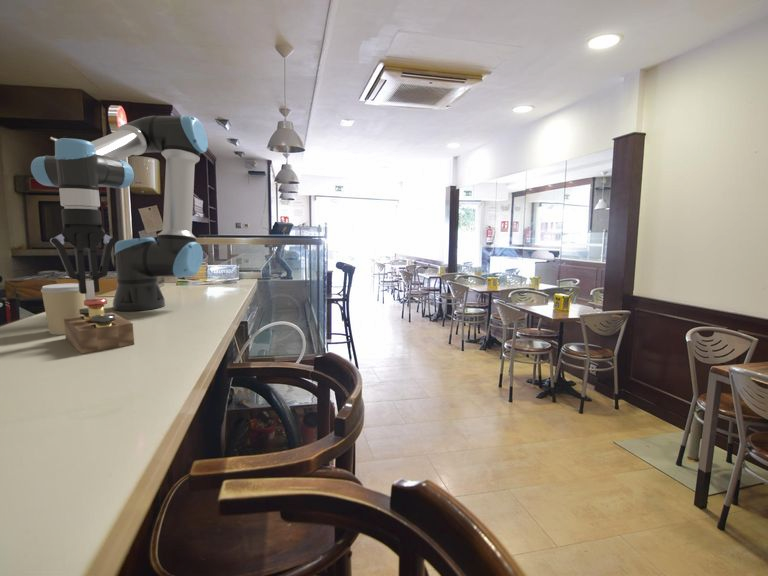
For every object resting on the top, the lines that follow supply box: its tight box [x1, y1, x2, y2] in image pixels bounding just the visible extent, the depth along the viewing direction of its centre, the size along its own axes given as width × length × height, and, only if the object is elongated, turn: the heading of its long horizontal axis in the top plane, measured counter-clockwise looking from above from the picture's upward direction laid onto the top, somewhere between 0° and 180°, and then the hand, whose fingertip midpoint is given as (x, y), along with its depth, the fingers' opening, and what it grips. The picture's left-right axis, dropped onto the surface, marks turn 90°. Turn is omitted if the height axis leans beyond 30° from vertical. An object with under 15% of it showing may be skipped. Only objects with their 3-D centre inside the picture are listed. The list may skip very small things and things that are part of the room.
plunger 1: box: [79, 307, 89, 319], centre depth 99 cm, size 4×4×6 cm
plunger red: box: [84, 297, 108, 323], centre depth 94 cm, size 4×4×6 cm
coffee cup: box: [40, 282, 88, 336], centre depth 104 cm, size 9×9×12 cm
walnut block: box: [64, 312, 135, 354], centre depth 95 cm, size 10×17×5 cm, turn 47°
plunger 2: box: [91, 314, 115, 328], centre depth 91 cm, size 4×4×6 cm
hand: (90, 306), depth 98 cm, fingers closed
